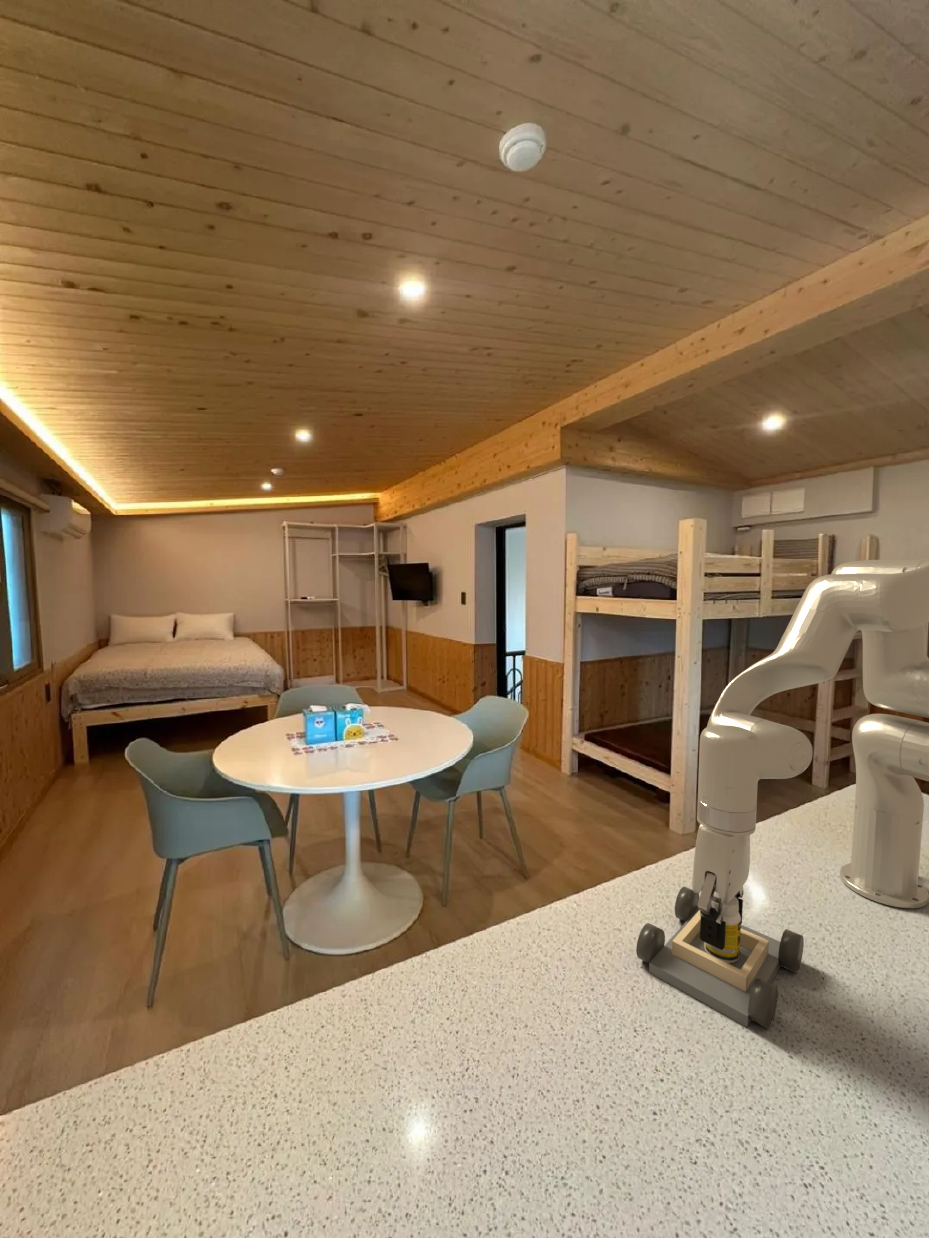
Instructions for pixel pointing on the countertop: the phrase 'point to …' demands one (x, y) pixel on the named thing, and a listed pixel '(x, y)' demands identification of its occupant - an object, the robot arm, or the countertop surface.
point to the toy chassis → (720, 965)
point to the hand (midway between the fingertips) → (721, 931)
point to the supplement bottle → (728, 933)
